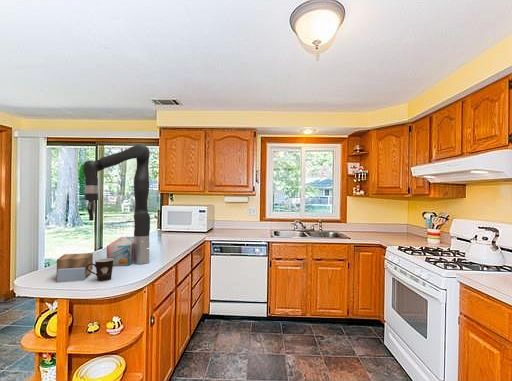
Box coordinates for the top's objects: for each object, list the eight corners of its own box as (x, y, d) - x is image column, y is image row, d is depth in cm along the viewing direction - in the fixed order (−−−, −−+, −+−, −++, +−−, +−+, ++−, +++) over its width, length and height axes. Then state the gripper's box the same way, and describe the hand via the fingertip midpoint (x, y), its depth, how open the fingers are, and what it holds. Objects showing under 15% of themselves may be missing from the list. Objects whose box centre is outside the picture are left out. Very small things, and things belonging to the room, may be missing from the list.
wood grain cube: (92, 268, 177) (92, 253, 177) (87, 275, 164) (87, 258, 164) (64, 270, 173) (64, 254, 173) (56, 277, 160) (56, 259, 160)
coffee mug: (116, 277, 167) (116, 258, 167) (109, 281, 158) (109, 261, 158) (93, 277, 166) (94, 258, 166) (85, 281, 158) (85, 261, 158)
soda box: (130, 266, 192) (130, 245, 192) (105, 267, 189) (105, 245, 189) (140, 253, 232) (140, 235, 232) (120, 253, 229) (120, 236, 229)
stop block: (85, 278, 163) (85, 267, 163) (84, 280, 160) (84, 268, 160) (58, 280, 159) (58, 268, 159) (57, 282, 157) (57, 270, 157)
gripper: (96, 192, 192) (96, 221, 192) (100, 192, 204) (99, 219, 204) (82, 192, 189) (82, 221, 189) (87, 192, 202) (86, 219, 202)
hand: (91, 220), depth 197 cm, fingers closed
